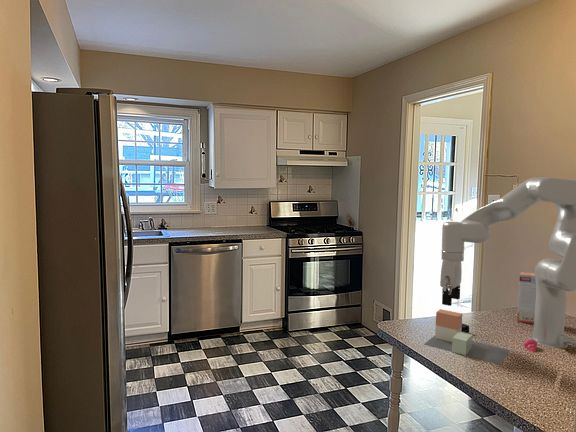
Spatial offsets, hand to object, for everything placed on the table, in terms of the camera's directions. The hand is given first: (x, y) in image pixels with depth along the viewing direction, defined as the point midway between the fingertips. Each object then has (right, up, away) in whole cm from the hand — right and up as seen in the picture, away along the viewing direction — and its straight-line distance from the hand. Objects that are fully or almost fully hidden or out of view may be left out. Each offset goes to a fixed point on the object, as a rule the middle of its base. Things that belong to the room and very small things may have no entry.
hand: (451, 301), depth 154 cm
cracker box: (+45, -14, +24) cm, 53 cm away
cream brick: (-1, -14, +1) cm, 14 cm away
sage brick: (0, -15, -9) cm, 17 cm away
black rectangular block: (+8, -15, +8) cm, 19 cm away
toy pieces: (+24, -17, -10) cm, 31 cm away
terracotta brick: (-1, -9, +1) cm, 9 cm away
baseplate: (+3, -16, -6) cm, 17 cm away
